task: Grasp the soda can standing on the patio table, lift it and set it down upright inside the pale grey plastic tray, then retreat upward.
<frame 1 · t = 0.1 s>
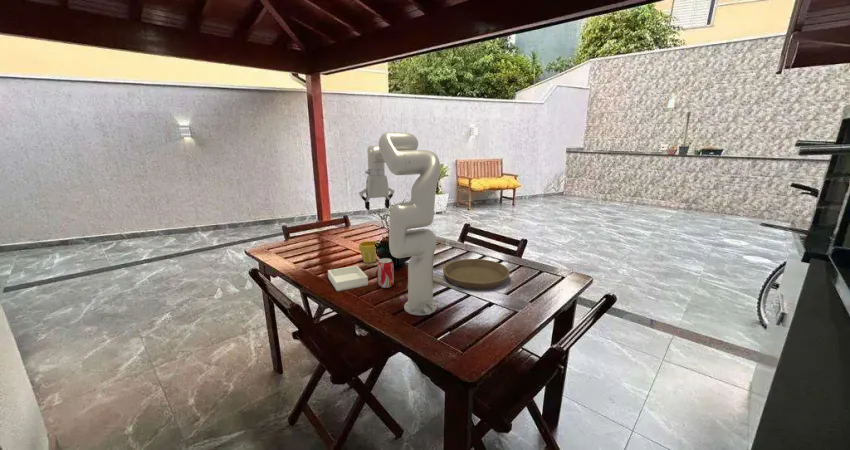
hand: (377, 208, 167), 31 cm above the table, tool pointing down, fingers open, 9 cm apart
plant pot: (369, 261, 188), on the table
soda can: (386, 286, 157), on the table
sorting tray: (347, 281, 161), on the table
plant saucer: (475, 278, 166), on the table
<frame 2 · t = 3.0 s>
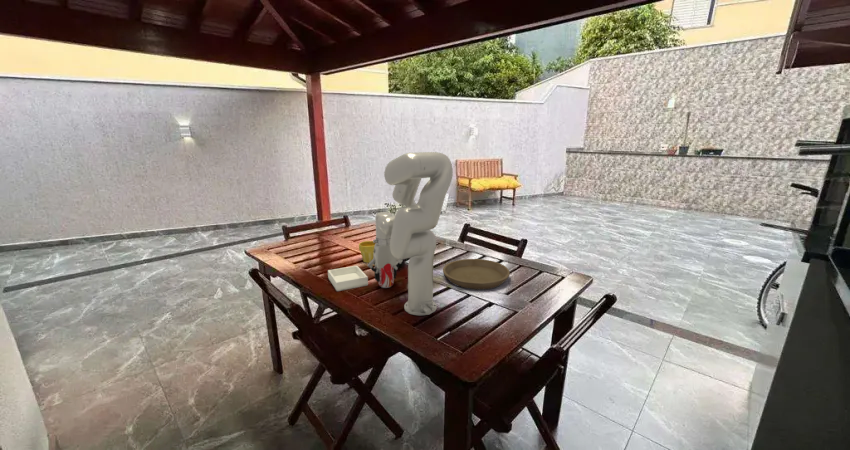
hand: (385, 278, 156), 3 cm above the table, tool pointing down, fingers closed on soda can, 7 cm apart
soda can: (386, 286, 157), on the table, touching gripper
everything else where it was.
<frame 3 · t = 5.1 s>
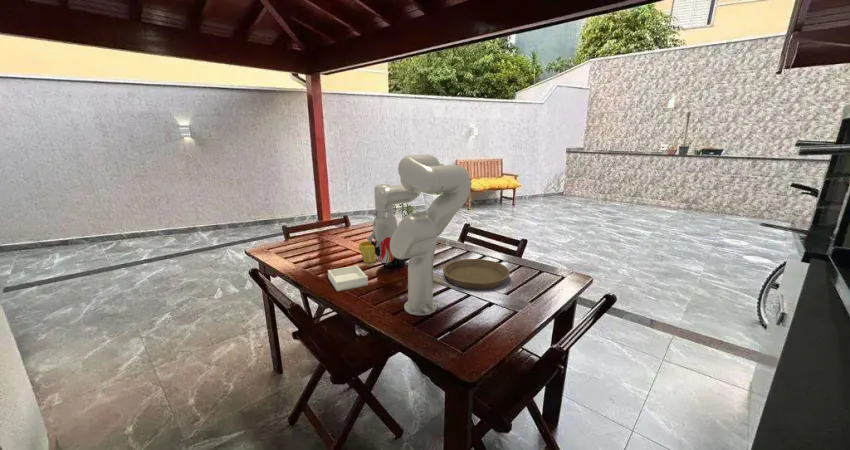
hand: (386, 253, 153), 15 cm above the table, tool pointing down, fingers closed on soda can, 7 cm apart
soda can: (386, 261, 153), point 12 cm above the table, touching gripper
everything else where it was.
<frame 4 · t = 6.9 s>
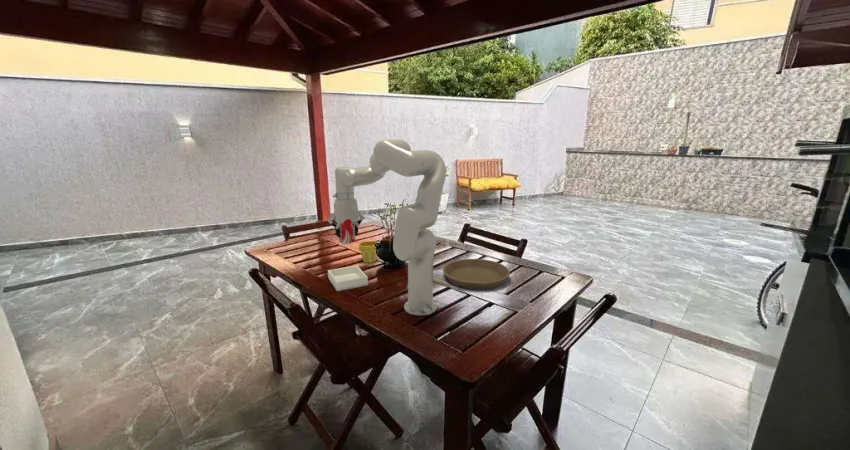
hand: (347, 235, 155), 22 cm above the table, tool pointing down, fingers closed on soda can, 7 cm apart
soda can: (347, 242, 156), point 19 cm above the table, touching gripper
everything else where it was.
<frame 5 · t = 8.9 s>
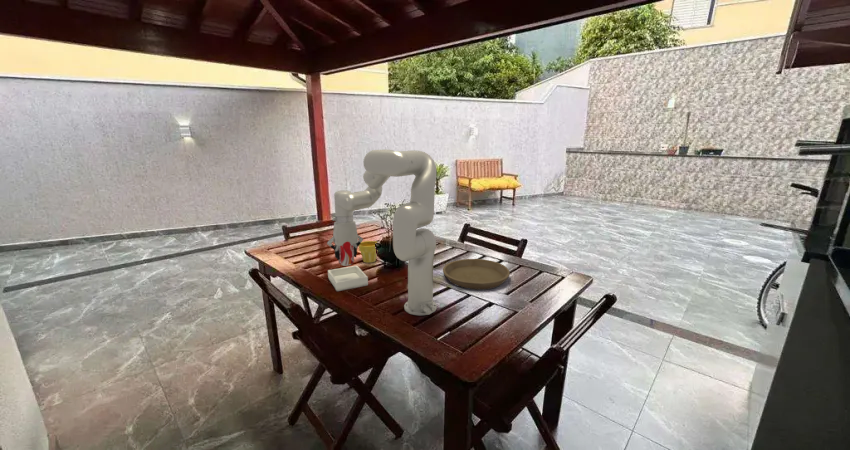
hand: (346, 257, 158), 12 cm above the table, tool pointing down, fingers closed on soda can, 7 cm apart
soda can: (346, 264, 159), point 8 cm above the table, touching gripper
everything else where it was.
when the fingers open (5 cm above the table, at t = 10.7 s): soda can drops 1 cm, resting on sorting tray.
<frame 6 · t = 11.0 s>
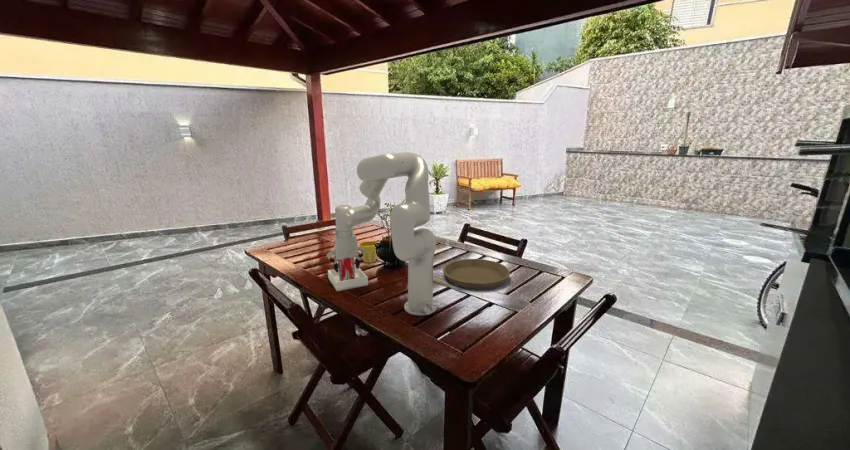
hand: (347, 269, 159), 6 cm above the table, tool pointing down, fingers open, 9 cm apart
soda can: (347, 280, 161), point 1 cm above the table, touching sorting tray
everything else where it was.
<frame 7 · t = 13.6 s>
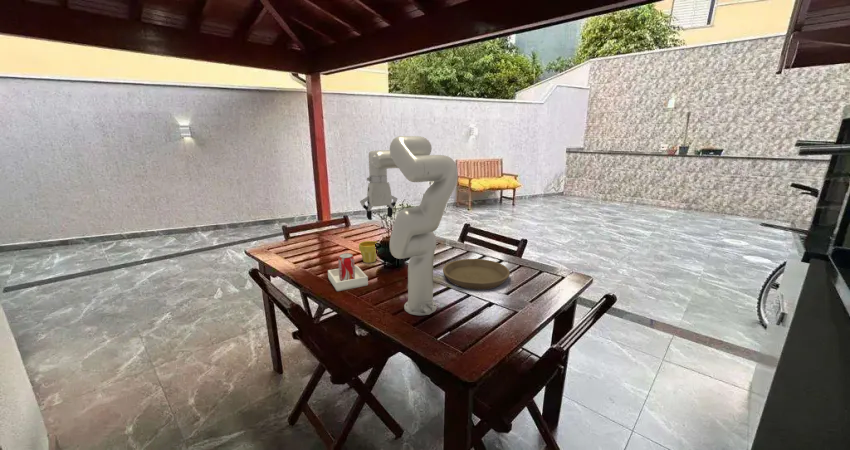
hand: (379, 218, 156), 29 cm above the table, tool pointing down, fingers open, 9 cm apart
nothing on the table moved.
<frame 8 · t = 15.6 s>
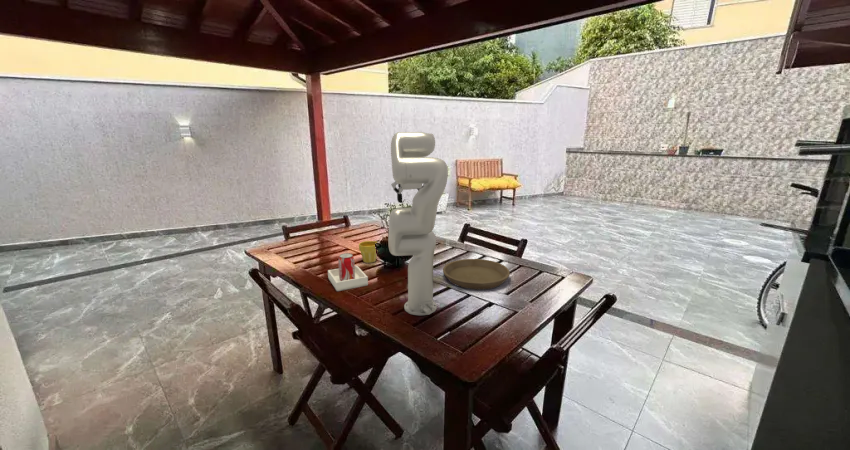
hand: (409, 201, 158), 36 cm above the table, tool pointing down, fingers open, 9 cm apart
nothing on the table moved.
at the end: soda can inside the target area on the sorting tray (0.2 cm from its centre), point 0.6 cm above the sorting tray's base; soda can tilted 0°; the gripper is holding nothing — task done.
